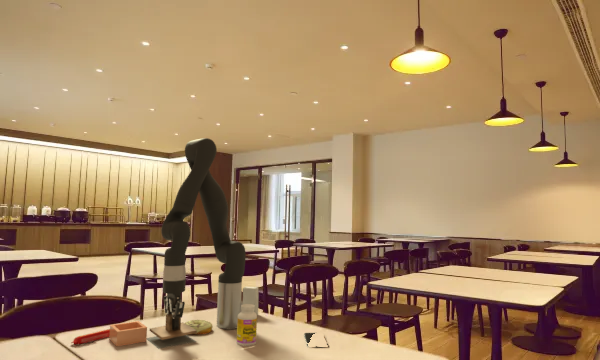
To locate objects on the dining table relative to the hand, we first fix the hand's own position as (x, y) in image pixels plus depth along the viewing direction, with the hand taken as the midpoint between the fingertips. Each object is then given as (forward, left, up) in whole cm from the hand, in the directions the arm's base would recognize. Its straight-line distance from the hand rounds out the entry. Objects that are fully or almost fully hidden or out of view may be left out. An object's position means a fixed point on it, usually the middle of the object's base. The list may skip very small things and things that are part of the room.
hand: (173, 328), depth 138 cm
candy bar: (+21, -16, -5) cm, 26 cm away
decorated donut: (-11, -5, -5) cm, 13 cm away
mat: (+1, 0, -4) cm, 4 cm away
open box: (+13, -8, -4) cm, 15 cm away
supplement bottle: (-19, +17, -4) cm, 26 cm away
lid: (0, 0, -1) cm, 1 cm away
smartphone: (-41, +28, -5) cm, 50 cm away
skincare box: (-40, -15, -4) cm, 43 cm away
